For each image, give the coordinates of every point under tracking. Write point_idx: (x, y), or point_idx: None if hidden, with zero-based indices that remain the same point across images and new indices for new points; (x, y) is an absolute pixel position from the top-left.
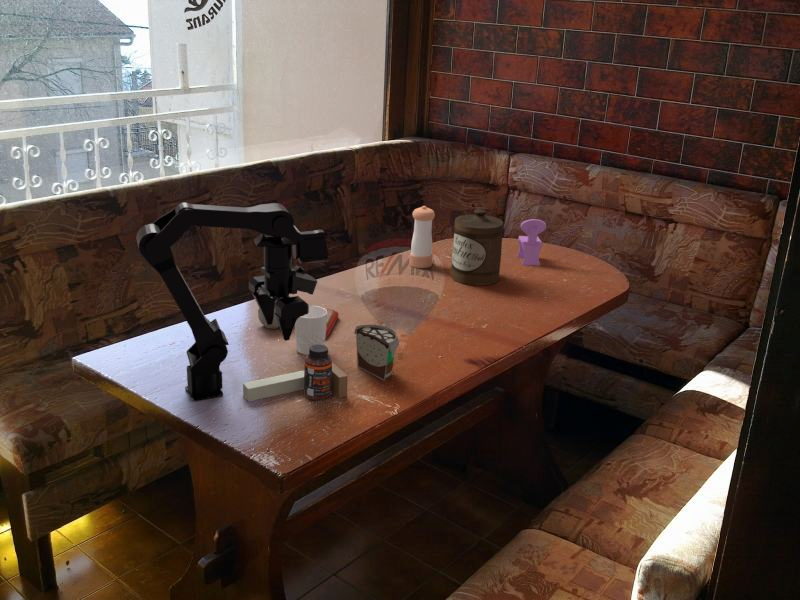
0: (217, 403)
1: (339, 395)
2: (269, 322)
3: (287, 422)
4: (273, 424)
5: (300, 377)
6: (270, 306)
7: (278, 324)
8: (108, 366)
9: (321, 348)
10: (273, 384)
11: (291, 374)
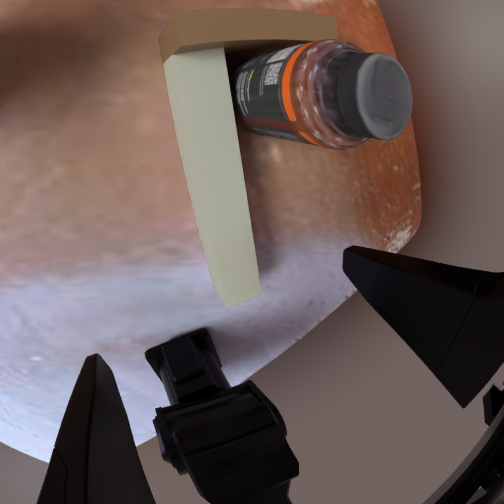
0: (235, 330)
1: None
2: (110, 377)
3: (345, 198)
4: (341, 225)
5: (235, 139)
6: (114, 487)
7: (419, 354)
8: None
9: (397, 89)
10: (250, 230)
11: (205, 167)
